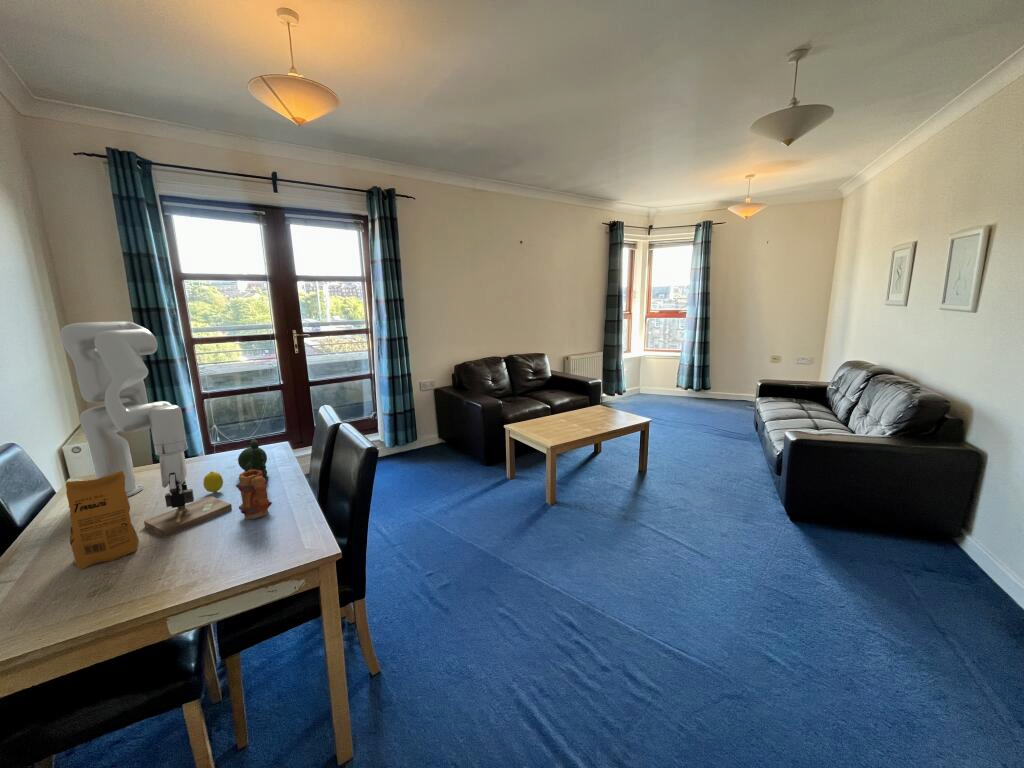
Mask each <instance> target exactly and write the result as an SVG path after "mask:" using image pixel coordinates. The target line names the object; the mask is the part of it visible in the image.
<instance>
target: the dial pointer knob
mask: <svg viewBox="0 0 1024 768" xmlns="http://www.w3.org/2000/svg"><path fill="white" fill-rule="evenodd" d="M182 493H184V498H185V505H186V504H191V503H193V502H195V501H194V500H195V498H194V497H195V496H194V491H193V488H189V489H188V488H187V490H182ZM164 500H165V505H166V508H169V507H172V506H171V500H170V492H168V493H165V495H164ZM185 505H184V506H180V507H176V509H177V508H178V509H177V510H176V512H177V513H179V514H178V517H177V520H176V522H177V523H178V522H180V519H181V516H182V513H183V512H185V511H187V507H185Z"/></svg>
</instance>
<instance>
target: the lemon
mask: <svg viewBox="0 0 1024 768" xmlns="http://www.w3.org/2000/svg"><path fill="white" fill-rule="evenodd" d="M202 483H203V488H204V490H206V492H209V493H213V494H215V493H217V492H218V491H220V490H221V488H223V484H224V479H223V476H222V474H220V473H219V472H218V471H217V472H216V471H210V472H209V473H207V474H206V475H205V476H204V478H203V482H202Z"/></svg>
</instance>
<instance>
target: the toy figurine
mask: <svg viewBox="0 0 1024 768" xmlns="http://www.w3.org/2000/svg"><path fill="white" fill-rule="evenodd" d="M249 442H250V443H249V444H250V447H247V448H244V449H243V450H242V451H241V452H240V454H239V455H238V457H237V463H238V466H239V467H240V468H241V469H242V470H243V471H245V472H247V471H248V470H261V471H262V472H263V478H265V479H266V481H267V482H268V483H269V476H268V475H267V474H268V471H267V469H266V468H267V466H266V463H267V462H268V461H267V460H268V456H267V453H266V451H265V450H263V449H262V448H261V447H260V443H259V442H258V440H257V439H255V438H254V439H251V440H250V441H249Z"/></svg>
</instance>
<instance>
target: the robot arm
mask: <svg viewBox="0 0 1024 768" xmlns="http://www.w3.org/2000/svg"><path fill="white" fill-rule="evenodd" d="M60 342H61V344H62V345H63V348H64V349H65V351H66V352H67V354H68V355H69V357H70V359H71V360H72V362H73V365H74V370H75V373H76V374H75V375H76V379H77V383H78V387H79V392H80V395H81V397H82V399H83V400H84V401H85V402H87V403H91V404H92V403H94V404H95V403H104V404H103V405H98V406H93V407H90V408H88V409H86V410H84V411H82V412H81V413H80V415H79V417H78V418H79V420H78V421H79V425H80V426H81V429H82V430H83V433H84V434H85V438H86V440H87V445H88V447H89V451H90V452H89V453H90V456H91V461H92V466H93V471H94V476H95V479H98V478H101V477H104V476H107V475H110V474H113V473H116V472H120V471H123V473H124V476H125V492H126V494H127V498H128V497H131V496H133V495H137V494H138V493H139V492H141V491H142V490H143V489H144V486H143V483H141V482H137V481H136V475H135V469H134V464H133V459H132V453H131V448H130V444H129V441H128V440H127V439H126V438H124V437H123V436H121V435H119V434H118V433H119V432H122V433H126V434H129V433H130V434H131V433H135V432H139V431H144V430H148V429H150V432H151V436H152V437H151V438H152V442H153V448H154V453H155V455H156V456H159V468H160V469H159V470H160V478H161V485H162V487H163V488H167V487H168V488H169V489H168V490H169V493H170V500H171V506H170V507H171V508H172V509H177V507H180V506H184V505H186V503H185V498H184V493H182V490H188V486H187V482H186V477H187V463H186V457H185V456H186V455H185V451H186V450H188V449H189V448H188V441H187V435H186V430H185V424H184V417H183V412H182V408H181V407H180V406H179V405H176V404H171V402H169V401H165V400H161V401H154V402H150V403H149V399H148V396H147V395H148V394H147V389H146V385H145V381H144V379H146V378H147V376H149V369H148V368H147V366H146V364H145V362H144V360H143V358H142V356H146V355H147V356H148V355H153V354H154V353H156V352H157V350H158V340H157V339H156V337H155V335H154V334H153V333H152V332H151V331H150V330H149V329H147V328H145V327H144V326H141V325H139V324H137V323H135V322H131V321H124V320H123V321H120V320H119V321H90V322H89V321H87V322H86V321H85V322H75V323H71V324H67V325H65V326H63V327H62V328H61V331H60ZM123 399H126V401H123V402H122V400H123Z"/></svg>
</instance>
